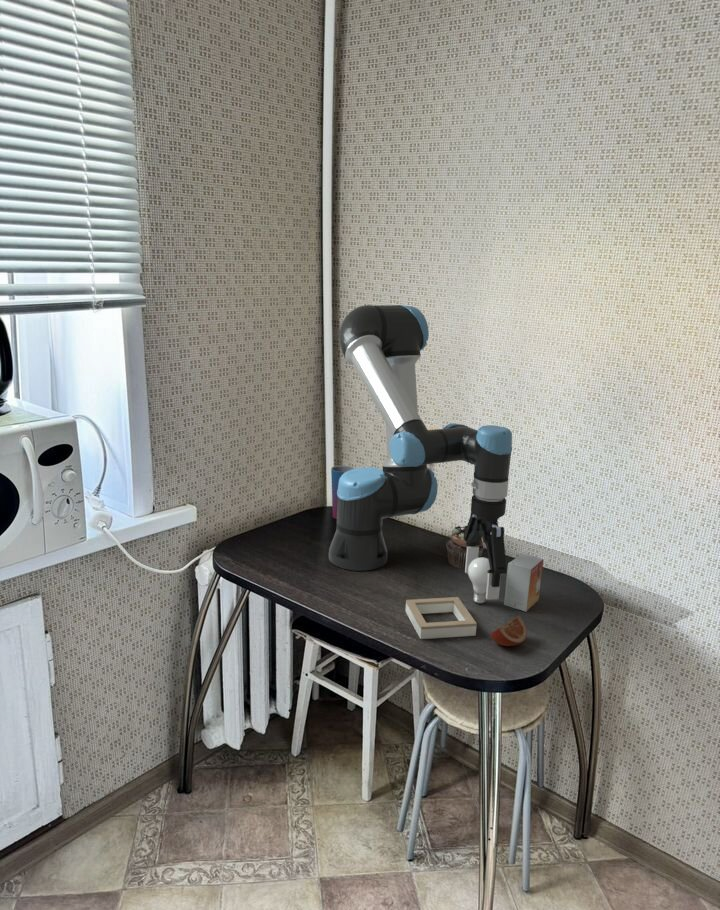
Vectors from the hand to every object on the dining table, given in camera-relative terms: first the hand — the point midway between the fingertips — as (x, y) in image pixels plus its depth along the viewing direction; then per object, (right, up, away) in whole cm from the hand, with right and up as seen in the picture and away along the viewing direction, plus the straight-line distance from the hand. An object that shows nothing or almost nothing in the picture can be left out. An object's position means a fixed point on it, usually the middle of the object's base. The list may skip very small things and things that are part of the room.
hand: (481, 585), depth 162 cm
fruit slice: (+3, -9, -16) cm, 18 cm away
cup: (-33, +11, +52) cm, 62 cm away
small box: (+10, -5, +2) cm, 11 cm away
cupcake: (-1, +2, +23) cm, 23 cm away
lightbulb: (0, -4, +1) cm, 5 cm away
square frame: (-10, -7, -9) cm, 15 cm away
